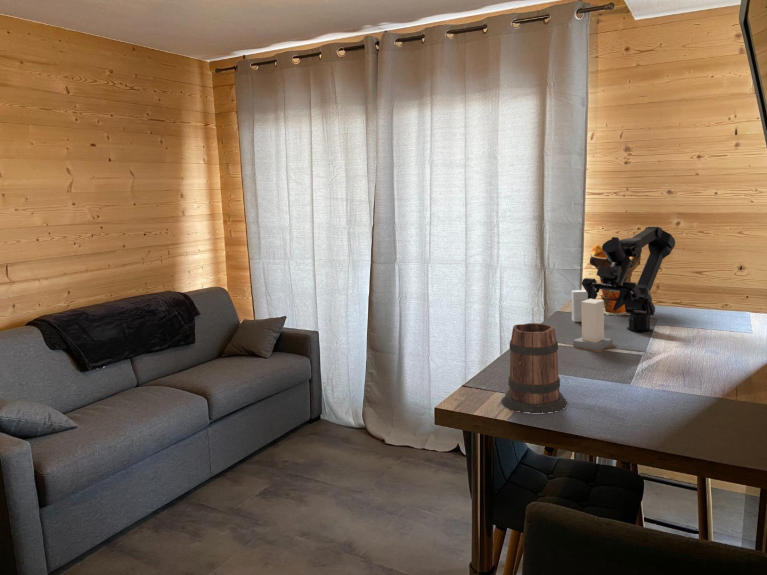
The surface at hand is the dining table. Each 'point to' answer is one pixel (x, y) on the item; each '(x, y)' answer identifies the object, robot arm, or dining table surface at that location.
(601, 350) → the tower base
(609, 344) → the tower top
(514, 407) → the tankard
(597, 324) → the tall block
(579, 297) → the skincare box
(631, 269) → the decorative vase
